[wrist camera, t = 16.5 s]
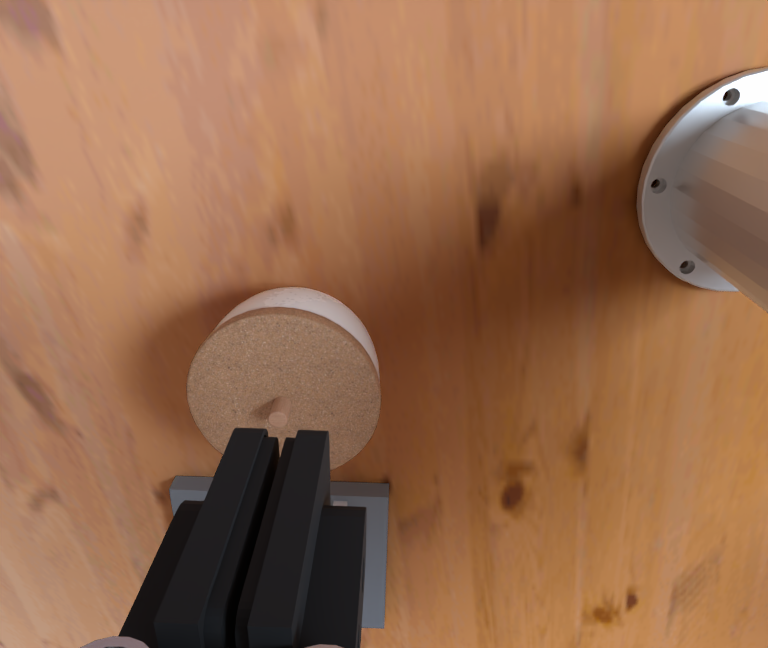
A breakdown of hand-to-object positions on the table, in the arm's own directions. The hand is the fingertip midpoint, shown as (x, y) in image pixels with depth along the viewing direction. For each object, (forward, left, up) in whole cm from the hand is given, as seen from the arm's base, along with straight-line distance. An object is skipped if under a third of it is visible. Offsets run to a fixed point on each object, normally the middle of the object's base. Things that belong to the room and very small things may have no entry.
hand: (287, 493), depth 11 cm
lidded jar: (+4, +11, -27) cm, 30 cm away
